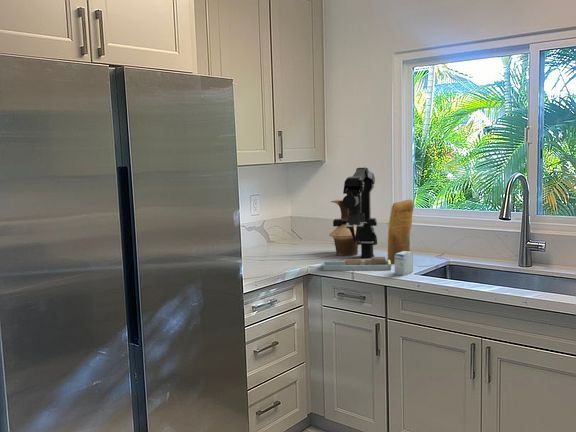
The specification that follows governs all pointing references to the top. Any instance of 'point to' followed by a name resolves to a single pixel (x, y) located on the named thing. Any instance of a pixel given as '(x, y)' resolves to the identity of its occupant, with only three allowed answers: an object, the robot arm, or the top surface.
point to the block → (378, 261)
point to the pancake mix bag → (399, 228)
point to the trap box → (341, 265)
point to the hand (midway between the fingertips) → (355, 241)
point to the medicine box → (403, 263)
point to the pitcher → (344, 235)
